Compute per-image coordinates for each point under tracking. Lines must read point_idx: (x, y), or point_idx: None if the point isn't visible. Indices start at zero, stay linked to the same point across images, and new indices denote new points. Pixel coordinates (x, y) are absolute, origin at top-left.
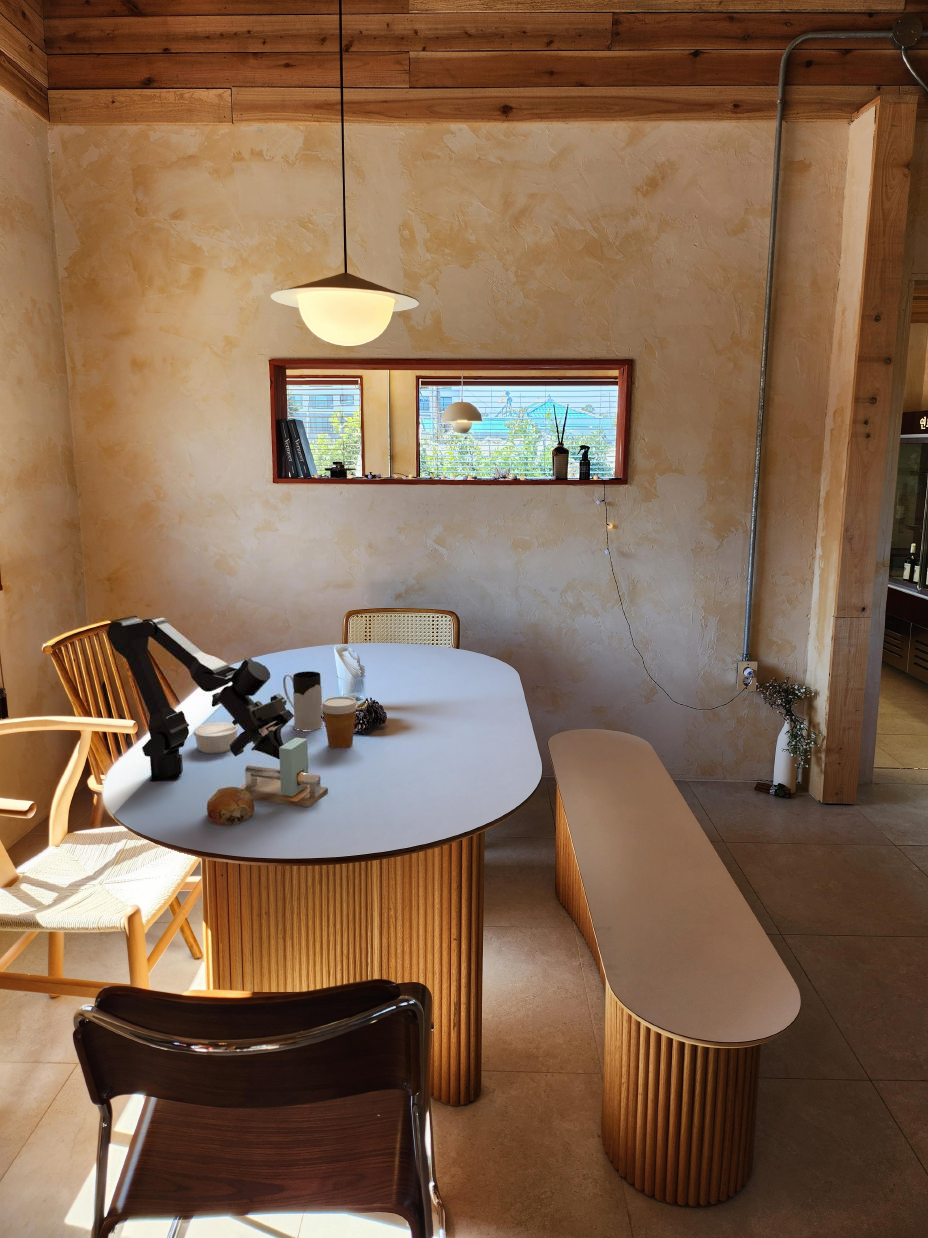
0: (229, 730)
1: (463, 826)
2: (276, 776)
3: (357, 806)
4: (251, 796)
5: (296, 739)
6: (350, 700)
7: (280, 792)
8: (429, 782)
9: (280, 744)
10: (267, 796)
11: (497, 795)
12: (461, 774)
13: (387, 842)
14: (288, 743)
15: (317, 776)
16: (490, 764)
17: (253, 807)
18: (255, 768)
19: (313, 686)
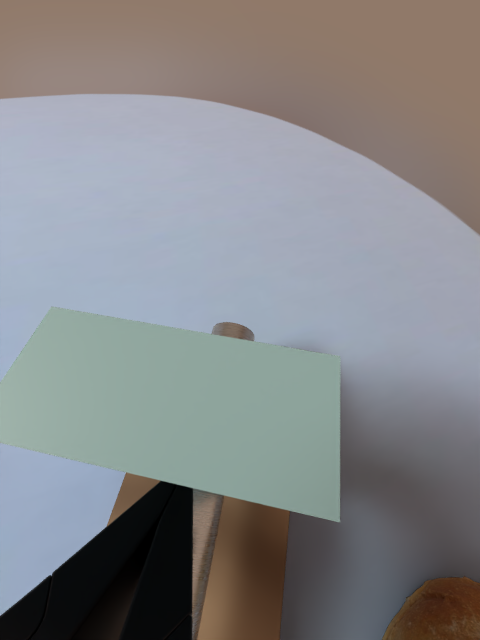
0: None
1: (300, 130)
2: (211, 562)
3: (260, 263)
4: (468, 634)
5: (41, 399)
6: None
7: (228, 519)
8: (122, 178)
9: (90, 609)
10: (282, 574)
11: (182, 113)
12: (87, 148)
13: (399, 192)
14: (173, 446)
15: (233, 325)
16: (48, 125)
17: (456, 585)
18: None
19: None
